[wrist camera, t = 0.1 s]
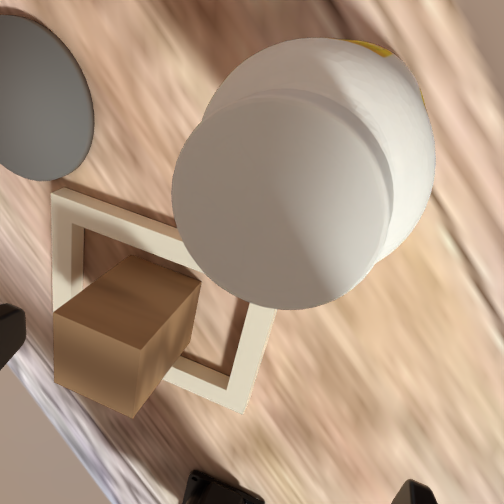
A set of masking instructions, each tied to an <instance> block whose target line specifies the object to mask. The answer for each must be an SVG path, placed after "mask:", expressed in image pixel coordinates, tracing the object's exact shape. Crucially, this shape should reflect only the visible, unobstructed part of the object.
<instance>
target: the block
mask: <svg viewBox="0 0 504 504" xmlns="http://www.w3.org/2000/svg"><path fill="white" fill-rule="evenodd" d="M200 287H201V281H199V280H196V279H193V278H191V277H188V276H186V275H183V274H181V273H178V272H175V271H173V270H170V269H168V268H165V267H162V266H160V265H157V264H155V263H152V262H149V261H147V260H144V259H142V258H139V257H136V256H134V255H130V256H128V257H127V258H126V259H124V260H123V261H122V262H120V263H119V264H117V265H116V266H115V267H113V268H112V269H111V270H109V271H108V272H107V273H105V274H104V275H103V276H101V277H100V278H99V279H97V280H96V281H94V282H93V283H92V284H90V285H89V286H88V287H86V288H85V289H84V290H82V291H81V292H80V293H78V294H77V295H76V296H74V297H73V298H72V299H70V300H69V301H67V302H66V303H65V304H63V305H62V306H61V307H59V308H58V309H57V310H55V311H54V312H53V346H54V382H55V383H57V384H59V385H61V386H63V387H65V388H68V389H70V390H72V391H74V392H76V393H78V394H80V395H83V396H85V397H87V398H89V399H91V400H93V401H95V402H98V403H100V404H102V405H104V406H106V407H108V408H110V409H113V410H115V411H117V412H119V413H121V414H123V415H125V416H128V417H130V418H132V419H133V418H134V416H135V415H136V414H137V412H138V411H139V410H140V408H141V407H142V406H143V404H144V403H145V402H146V400H147V399H148V398H149V396H150V395H151V394H152V392H153V391H154V390H155V388H156V387H157V385H158V384H159V383H160V381H161V380H162V379H163V377H164V376H165V375H166V373H167V372H168V371H169V369H170V368H171V367H172V365H173V364H174V363H175V361H176V360H177V359H178V357H179V356H180V355H181V353H182V352H183V351H184V349H185V348H186V347H187V345H188V344H189V343H190V340H191V334H192V329H193V324H194V319H195V313H196V308H197V303H198V298H199V293H200Z"/></svg>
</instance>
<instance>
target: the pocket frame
mask: <svg viewBox="0 0 504 504" xmlns="http://www.w3.org/2000/svg"><path fill="white" fill-rule="evenodd" d="M84 228H86V229H89V230H92V231H94V232H97V233H99V234H102V235H105V236H107V237H110V238H112V239H115V240H118V241H120V242H123V243H126V244H128V245H131V246H133V247H136V248H139V249H141V250H144V251H147V252H149V253H152V254H154V255H157V256H160V257H162V258H165V259H167V260H170V261H173V262H175V263H178V264H181V265H183V266H186V267H188V268H191V269H194V270H196V271H199V272H202V273H204V272H203V271H202V270H201V269H200V267H199V266H198V265H197V264H196V262H195V261H194V260H193V258H192V257H191V255H190V254H189V252H188V251H187V249H186V247H185V245H184V243H183V241H182V239H181V237H180V234H179V231H178V229H177V228H175V227H172V226H169V225H166V224H164V223H161V222H158V221H155V220H153V219H150V218H147V217H144V216H142V215H139V214H136V213H133V212H131V211H128V210H125V209H123V208H120V207H117V206H114V205H112V204H109V203H106V202H103V201H101V200H98V199H95V198H92V197H90V196H87V195H84V194H81V193H79V192H76V191H73V190H71V189H68V188H65V187H64V188H62V189H59V190H57V191H54V192H52V193H51V235H52V292H53V312H54V311H55V310H57V309H58V308H59V307H61V306H62V305H63V304H65V303H66V302H67V301H69V300H70V299H72V298H73V297H74V296H76V295H77V294H78V293H80V292H81V291H82V290H83V255H84ZM204 274H205V273H204ZM276 313H277V309H272V308H265V307H262V306H258V305H255V304H252V303H250V304H249V308H248V312H247V315H246V319H245V323H244V327H243V330H242V334H241V338H240V342H239V345H238V349H237V353H236V356H235V360H234V364H233V368H232V371H231V375H230V377H229V376H227V375H224V374H222V373H220V372H217V371H215V370H213V369H210V368H208V367H206V366H203V365H201V364H198V363H196V362H194V361H191V360H189V359H187V358H184V357H182V356H179V357H178V359H177V360H176V361H175V363H174V364H173V365H172V367H171V368H170V369H169V371H168V372H167V373H166V375H165V376H164V377H163V380H165V381H167V382H169V383H172V384H174V385H176V386H178V387H181V388H183V389H185V390H188V391H190V392H192V393H194V394H197V395H199V396H201V397H203V398H206V399H208V400H210V401H213V402H215V403H217V404H219V405H222V406H224V407H226V408H228V409H231V410H233V411H235V412H237V413H240V414H242V415H243V414H244V411H245V409H246V407H247V405H248V403H249V400H250V396H251V393H252V390H253V387H254V384H255V380H256V377H257V374H258V371H259V367H260V364H261V361H262V358H263V354H264V351H265V348H266V345H267V342H268V338H269V335H270V332H271V329H272V325H273V322H274V319H275V316H276Z"/></svg>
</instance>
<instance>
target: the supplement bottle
mask: <svg viewBox="0 0 504 504" xmlns="http://www.w3.org/2000/svg"><path fill="white" fill-rule="evenodd" d="M435 166H436V155H435V141H434V136H433V131H432V127H431V123H430V120H429V116H428V113H427V110H426V107H425V103H424V99H423V96H422V92H421V89H420V87H419V85H418V83H417V81H416V79H415V77H414V75H413V74H412V72H411V70H410V69H409V68H408V67H407V65H406V64H405V63H404V62H403V61H402V60H401V59H400V58H399V57H397V56H396V55H395V54H394V53H392V52H390V51H389V50H387V49H385V48H383V47H381V46H379V45H376V44H373V43H370V42H364V41H360V40H344V39H335V38H300V39H294V40H289V41H285V42H282V43H278V44H275V45H272V46H270V47H268V48H265V49H263V50H261V51H260V52H258V53H256V54H254V55H253V56H251V57H249V58H248V59H246V60H245V61H243V62H242V63H241V64H240V65H239V66H238V67H236V68H235V69H234V70H233V71H232V72H231V73H230V74H229V75H228V76H227V78H226V79H225V80H224V81H223V83H222V84H221V85H220V86H219V88H218V89H217V90H216V92H215V94H214V95H213V97H212V99H211V100H210V102H209V104H208V106H207V108H206V111H205V113H204V116H203V118H202V121H201V123H200V124H199V125H198V126H197V127H196V128H195V129H194V131H193V132H192V133H191V135H190V136H189V138H188V139H187V141H186V143H185V144H184V146H183V148H182V150H181V152H180V155H179V157H178V159H177V162H176V166H175V170H174V174H173V180H172V192H171V195H172V208H173V214H174V219H175V222H176V225H177V229H178V231H179V234H180V237H181V239H182V241H183V243H184V245H185V247H186V249H187V251H188V252H189V254H190V255H191V257H192V258H193V260H194V261H195V262H196V264H197V265H198V266H199V267H200V269H201V270H202V271H203V272H204V273H205V274H206V275H207V276H208V277H209V278H210V279H211V280H212V281H214V282H215V283H216V284H217V285H218V286H220V287H221V288H223V289H224V290H226V291H227V292H229V293H231V294H232V295H234V296H236V297H238V298H240V299H242V300H245V301H247V302H250V303H252V304H255V305H258V306H262V307H265V308H272V309H281V310H300V309H307V308H313V307H317V306H320V305H323V304H326V303H329V302H331V301H334V300H336V299H338V298H339V297H341V296H343V295H344V294H346V293H347V292H349V291H350V290H351V289H353V288H354V287H355V286H356V285H357V284H358V283H360V282H361V281H362V280H363V279H364V278H365V277H366V275H367V274H368V273H369V271H370V270H371V269H372V267H373V266H374V264H375V263H377V262H378V261H380V260H382V259H383V258H385V257H386V256H387V255H389V254H390V253H392V252H393V251H394V250H395V249H396V248H397V247H398V246H399V245H400V244H401V243H402V242H403V241H404V240H405V239H406V238H407V237H408V236H409V234H410V233H411V232H412V230H413V229H414V227H415V226H416V224H417V223H418V221H419V219H420V218H421V216H422V214H423V212H424V210H425V208H426V205H427V202H428V200H429V197H430V194H431V190H432V186H433V182H434V176H435Z"/></svg>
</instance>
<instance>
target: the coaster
mask: <svg viewBox="0 0 504 504" xmlns="http://www.w3.org/2000/svg"><path fill="white" fill-rule="evenodd" d="M93 134H94V110H93V102H92V98H91V94H90V90H89V87H88V84H87V81H86V79H85V77H84V75H83V72H82V70H81V68H80V67H79V65H78V63H77V61H76V59H75V58H74V57H73V55H72V54H71V52H70V51H69V49H68V48H67V47H66V46H65V45H64V44H63V42H62V41H61V40H60V39H59V38H58V37H57V36H55V35H54V34H53V33H52V32H51V31H49V30H48V29H47V28H45V27H44V26H42V25H41V24H39V23H37V22H35V21H33V20H30V19H27V18H25V17H20V16H13V15H0V164H2V165H3V166H4V167H6V168H7V169H8V170H10V171H12V172H13V173H15V174H17V175H19V176H21V177H24V178H27V179H30V180H36V181H50V180H55V179H57V178H60V177H63V176H65V175H68V174H70V173H71V172H73V171H74V170H76V169H77V168H78V167H79V166H80V165H81V163H82V162H83V161H84V160H85V158H86V156H87V154H88V152H89V149H90V147H91V144H92V139H93Z"/></svg>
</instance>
